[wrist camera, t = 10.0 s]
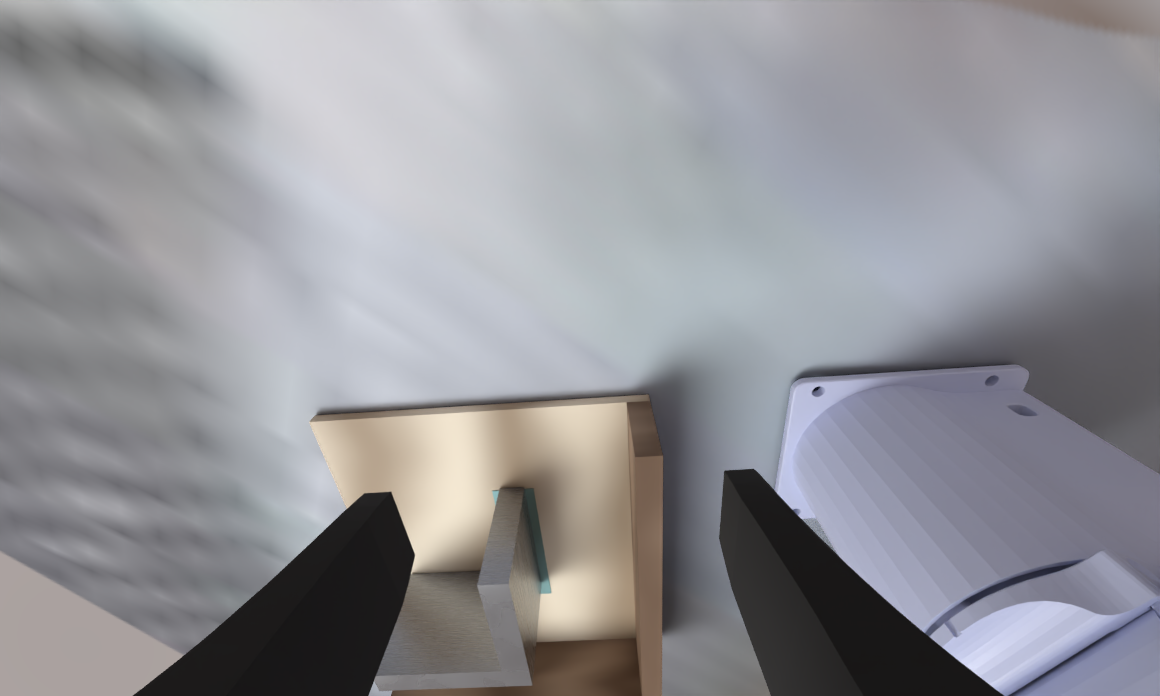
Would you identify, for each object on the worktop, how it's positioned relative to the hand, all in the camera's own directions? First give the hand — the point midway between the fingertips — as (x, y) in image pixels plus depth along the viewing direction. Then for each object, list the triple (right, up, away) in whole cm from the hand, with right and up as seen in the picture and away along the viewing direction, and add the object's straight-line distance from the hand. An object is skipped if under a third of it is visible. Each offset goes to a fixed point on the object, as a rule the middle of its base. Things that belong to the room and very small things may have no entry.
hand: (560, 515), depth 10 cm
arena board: (-3, -7, +14) cm, 16 cm away
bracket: (-5, -6, +13) cm, 16 cm away
